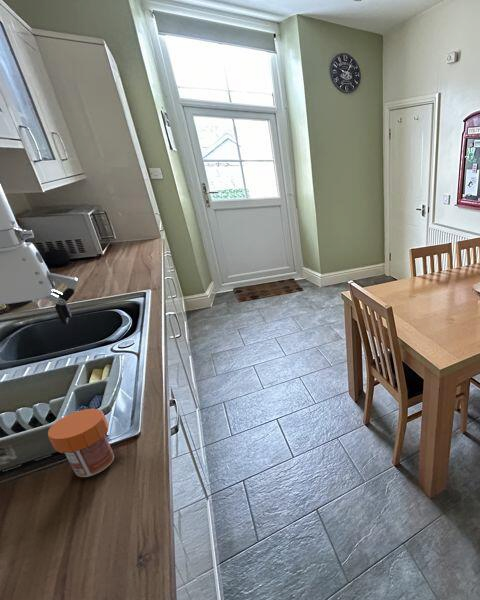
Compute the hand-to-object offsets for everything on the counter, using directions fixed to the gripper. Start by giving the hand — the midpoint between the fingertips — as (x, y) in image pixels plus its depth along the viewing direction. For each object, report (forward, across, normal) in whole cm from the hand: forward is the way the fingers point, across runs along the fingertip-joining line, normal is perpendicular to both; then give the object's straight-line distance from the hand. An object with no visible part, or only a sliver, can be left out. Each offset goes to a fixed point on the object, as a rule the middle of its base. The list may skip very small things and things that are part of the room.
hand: (31, 327), depth 63 cm
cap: (+20, -3, +11) cm, 23 cm away
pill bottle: (+28, -3, +11) cm, 31 cm away
